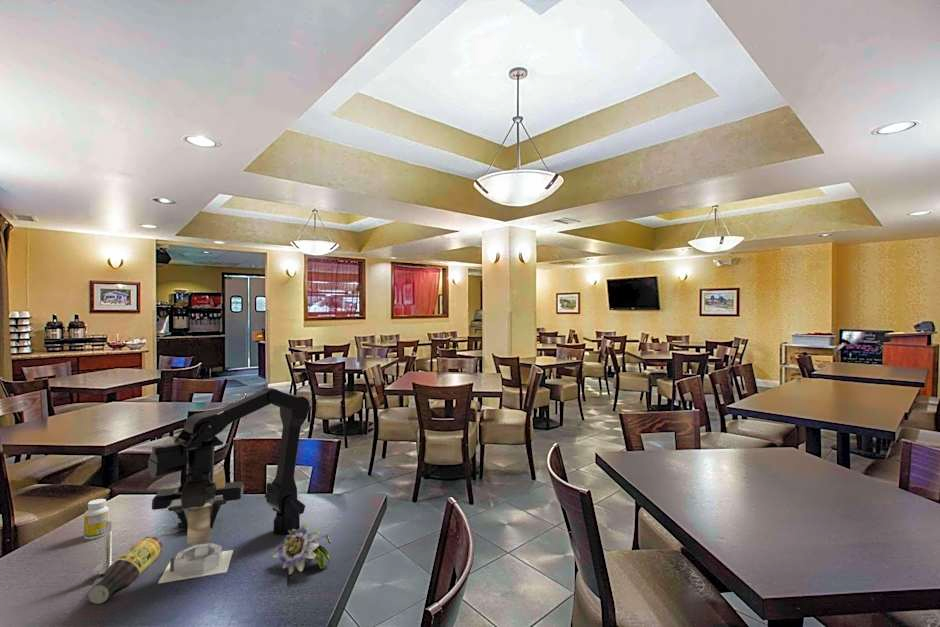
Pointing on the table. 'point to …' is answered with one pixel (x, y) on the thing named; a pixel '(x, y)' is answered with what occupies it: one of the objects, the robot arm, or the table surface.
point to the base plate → (221, 568)
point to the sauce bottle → (126, 568)
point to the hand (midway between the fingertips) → (199, 529)
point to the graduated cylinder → (106, 550)
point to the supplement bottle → (95, 519)
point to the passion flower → (301, 549)
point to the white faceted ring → (187, 567)
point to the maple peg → (199, 524)
